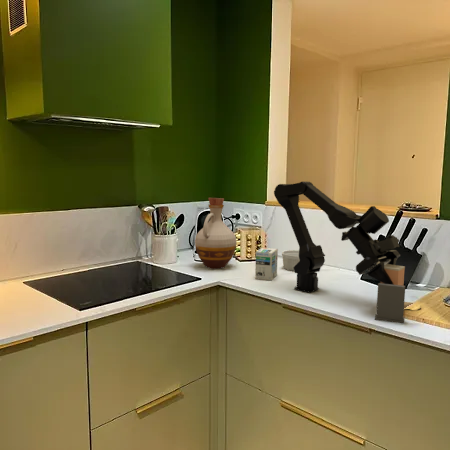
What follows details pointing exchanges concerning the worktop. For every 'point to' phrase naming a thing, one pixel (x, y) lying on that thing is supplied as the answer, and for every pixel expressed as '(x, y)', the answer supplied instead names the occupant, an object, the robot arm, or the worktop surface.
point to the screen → (390, 303)
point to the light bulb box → (266, 263)
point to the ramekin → (290, 259)
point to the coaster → (407, 304)
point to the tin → (395, 273)
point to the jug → (215, 238)
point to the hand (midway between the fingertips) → (396, 284)
